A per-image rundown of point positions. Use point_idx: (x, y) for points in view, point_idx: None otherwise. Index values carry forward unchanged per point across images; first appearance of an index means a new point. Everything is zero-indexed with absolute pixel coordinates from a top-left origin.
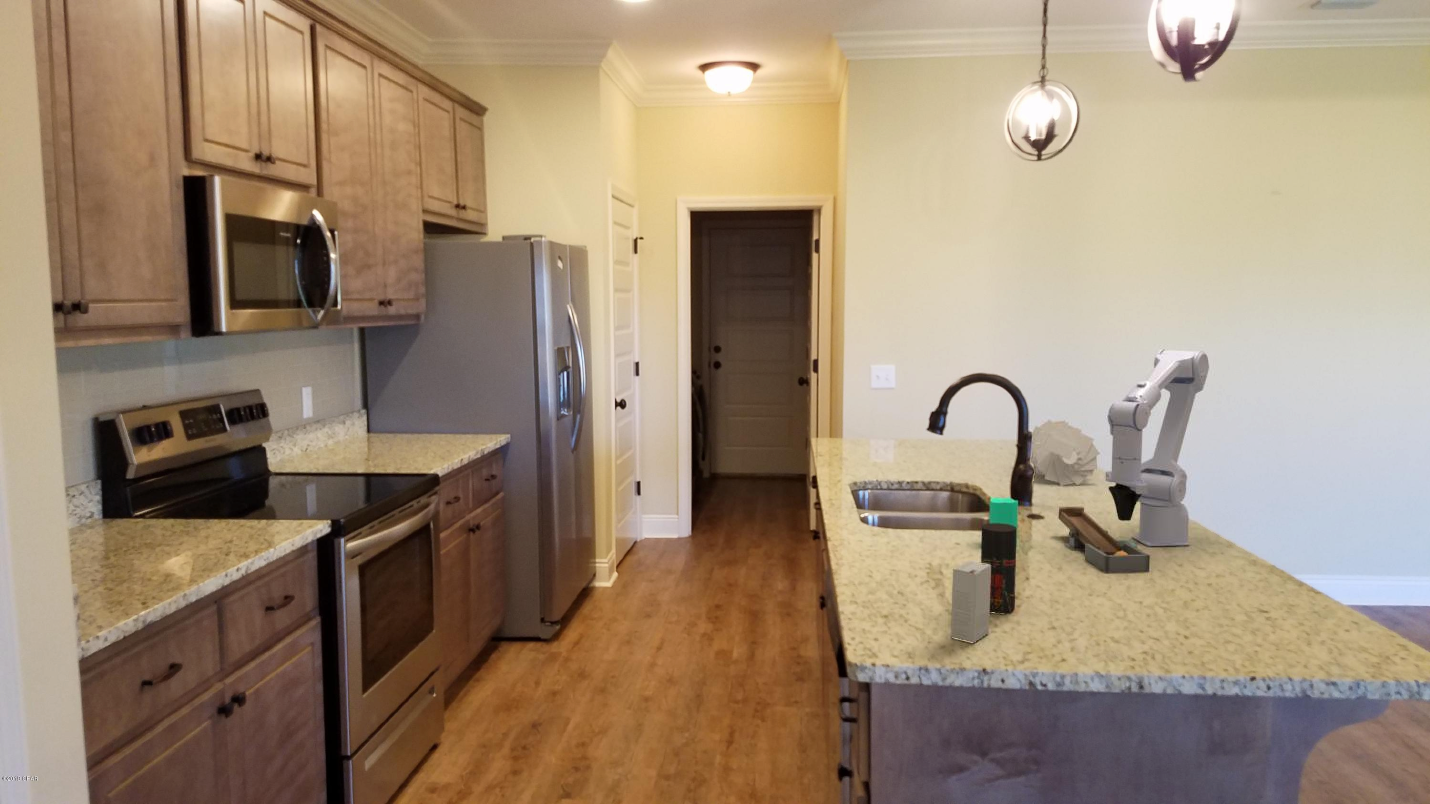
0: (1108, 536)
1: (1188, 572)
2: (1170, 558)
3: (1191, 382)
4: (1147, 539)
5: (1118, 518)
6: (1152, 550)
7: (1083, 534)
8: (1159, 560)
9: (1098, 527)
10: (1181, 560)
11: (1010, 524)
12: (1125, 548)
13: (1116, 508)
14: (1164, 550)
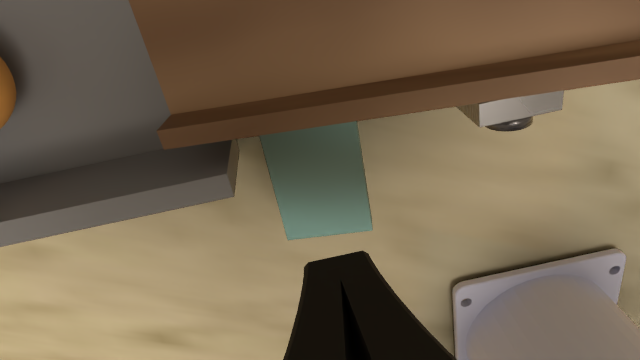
0: (336, 103)
1: (47, 347)
2: (268, 325)
3: None
4: (506, 302)
5: (360, 254)
6: (396, 286)
7: None
8: (224, 282)
9: (527, 72)
10: (243, 353)
11: None
12: (198, 166)
13: (392, 316)
14: None
